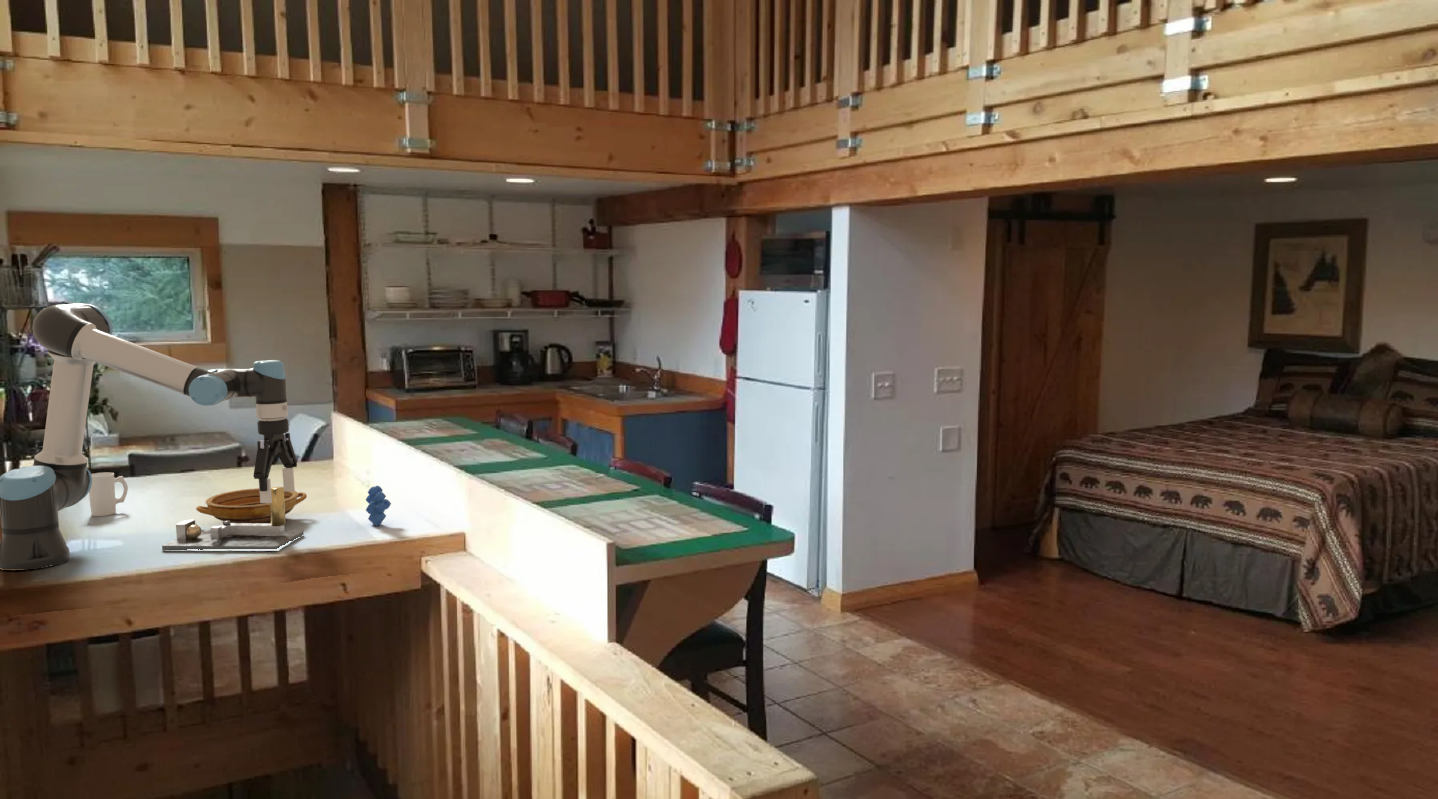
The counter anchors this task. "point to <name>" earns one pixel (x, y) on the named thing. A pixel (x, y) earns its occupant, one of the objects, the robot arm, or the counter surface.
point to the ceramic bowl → (246, 506)
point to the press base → (224, 539)
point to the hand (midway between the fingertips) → (278, 497)
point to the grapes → (377, 505)
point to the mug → (105, 494)
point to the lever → (257, 528)
